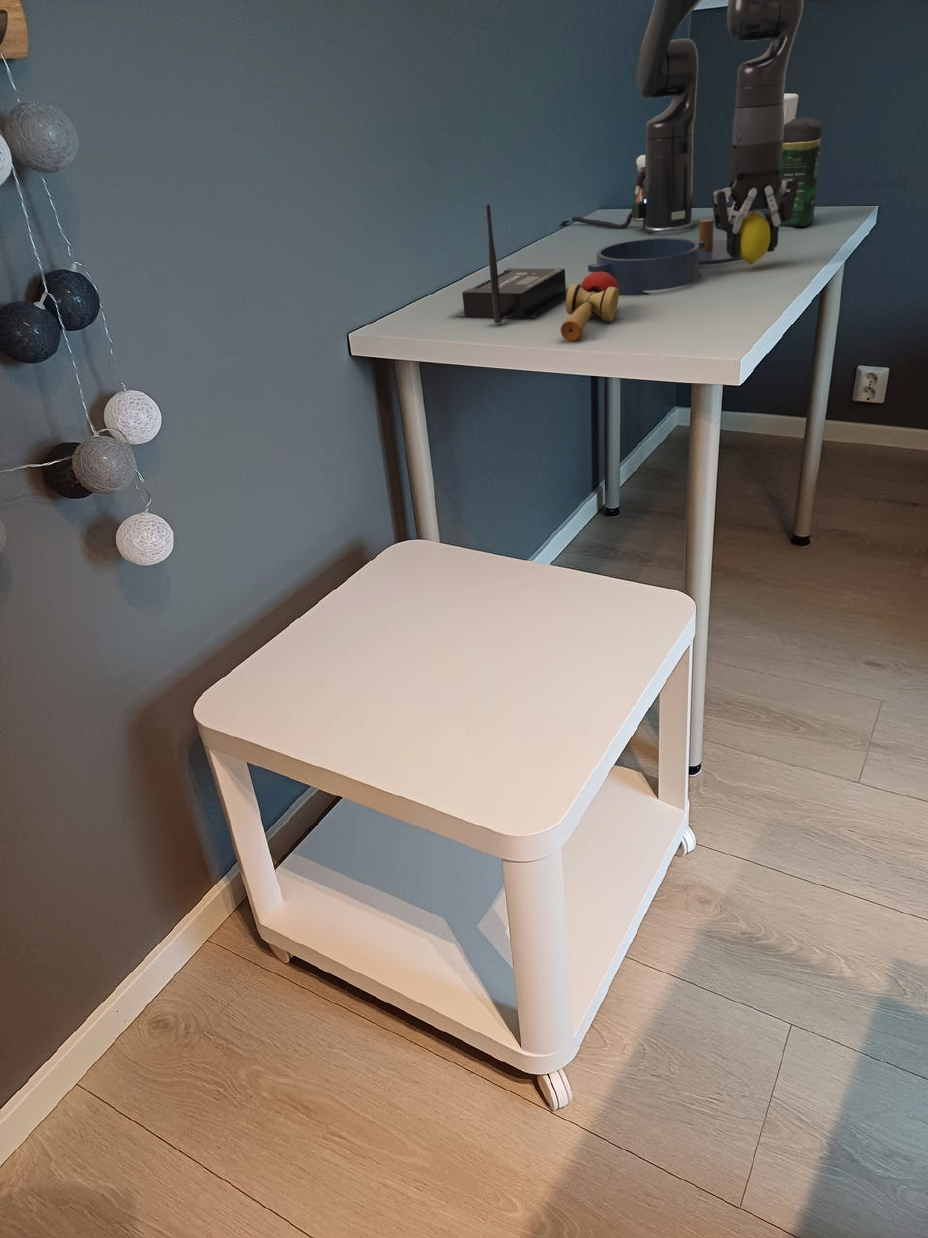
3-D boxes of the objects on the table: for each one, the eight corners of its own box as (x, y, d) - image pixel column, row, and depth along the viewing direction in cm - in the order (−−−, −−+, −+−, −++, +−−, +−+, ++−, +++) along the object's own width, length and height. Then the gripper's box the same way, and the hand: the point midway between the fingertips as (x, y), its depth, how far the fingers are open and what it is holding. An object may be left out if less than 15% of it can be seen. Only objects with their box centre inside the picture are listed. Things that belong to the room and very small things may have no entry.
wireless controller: (501, 291, 162) (492, 183, 153) (575, 292, 156) (571, 179, 147) (442, 323, 148) (428, 206, 139) (522, 326, 141) (513, 203, 132)
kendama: (604, 350, 131) (633, 298, 144) (593, 306, 128) (624, 257, 140) (552, 359, 135) (585, 308, 147) (540, 317, 131) (575, 268, 144)
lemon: (728, 263, 156) (731, 211, 152) (761, 259, 156) (764, 207, 152) (740, 269, 152) (742, 216, 147) (773, 265, 152) (777, 212, 147)
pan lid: (636, 259, 172) (636, 224, 169) (711, 242, 178) (712, 207, 175) (698, 272, 159) (699, 234, 156) (777, 253, 165) (780, 215, 162)
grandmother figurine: (640, 215, 210) (640, 152, 203) (657, 214, 208) (657, 151, 202) (629, 222, 204) (629, 158, 198) (647, 221, 203) (646, 156, 196)
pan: (565, 287, 159) (563, 255, 157) (669, 263, 167) (669, 231, 164) (622, 303, 147) (622, 268, 144) (732, 276, 154) (733, 241, 151)
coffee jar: (809, 228, 179) (819, 119, 169) (766, 229, 182) (773, 122, 173) (816, 218, 186) (826, 113, 177) (775, 220, 190) (782, 116, 180)
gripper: (787, 130, 148) (780, 243, 157) (702, 143, 146) (700, 256, 155) (813, 133, 142) (804, 250, 151) (725, 146, 140) (721, 264, 149)
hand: (751, 253), depth 153 cm, fingers closed on lemon, 5 cm apart
